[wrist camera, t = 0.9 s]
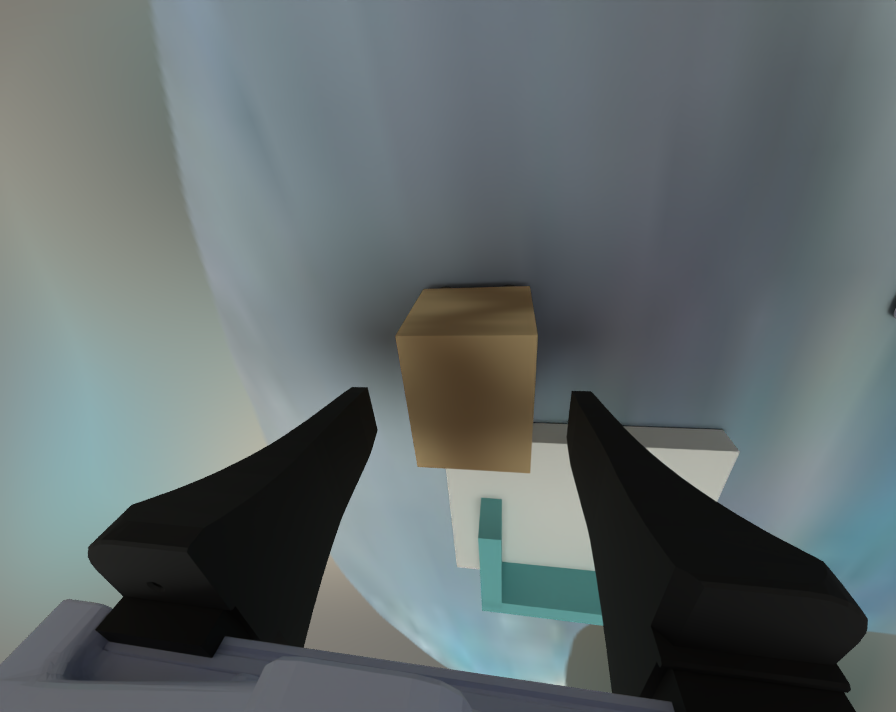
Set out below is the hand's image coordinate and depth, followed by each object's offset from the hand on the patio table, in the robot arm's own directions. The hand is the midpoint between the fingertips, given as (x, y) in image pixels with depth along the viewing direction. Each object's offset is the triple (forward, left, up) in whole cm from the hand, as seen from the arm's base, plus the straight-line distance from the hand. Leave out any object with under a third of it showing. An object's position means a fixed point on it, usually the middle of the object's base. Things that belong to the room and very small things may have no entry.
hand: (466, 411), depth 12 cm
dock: (-5, +11, -5) cm, 13 cm away
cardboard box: (0, 0, -5) cm, 5 cm away
